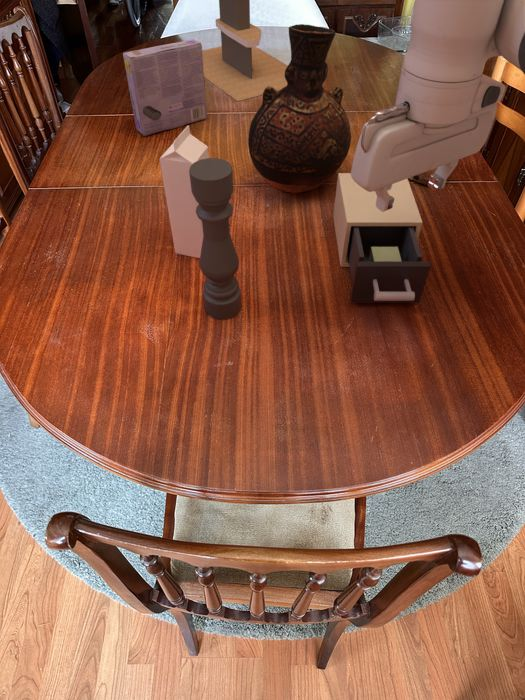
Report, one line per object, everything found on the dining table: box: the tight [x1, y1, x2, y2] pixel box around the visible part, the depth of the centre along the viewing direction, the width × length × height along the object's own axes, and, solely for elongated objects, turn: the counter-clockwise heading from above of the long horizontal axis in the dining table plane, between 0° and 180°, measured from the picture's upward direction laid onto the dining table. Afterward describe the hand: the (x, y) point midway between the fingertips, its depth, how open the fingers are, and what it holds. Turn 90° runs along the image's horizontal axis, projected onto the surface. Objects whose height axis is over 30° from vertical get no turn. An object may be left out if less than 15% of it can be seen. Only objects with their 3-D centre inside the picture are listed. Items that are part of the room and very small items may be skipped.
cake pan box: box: [122, 38, 208, 137], centre depth 122 cm, size 19×5×18 cm, turn 123°
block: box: [368, 247, 401, 261], centre depth 85 cm, size 4×4×4 cm
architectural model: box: [202, 0, 289, 102], centre depth 144 cm, size 38×25×20 cm, turn 32°
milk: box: [159, 125, 210, 259], centre depth 87 cm, size 6×6×22 cm
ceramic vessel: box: [247, 23, 352, 194], centre depth 99 cm, size 21×18×30 cm
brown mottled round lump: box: [408, 167, 449, 186], centre depth 110 cm, size 10×10×8 cm
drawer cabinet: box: [332, 172, 423, 268], centre depth 93 cm, size 16×13×10 cm
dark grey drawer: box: [347, 226, 431, 304], centre depth 85 cm, size 19×11×8 cm, turn 0°
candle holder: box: [189, 157, 242, 320], centre depth 76 cm, size 6×6×25 cm
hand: (410, 198), depth 70 cm, fingers open, 8 cm apart
